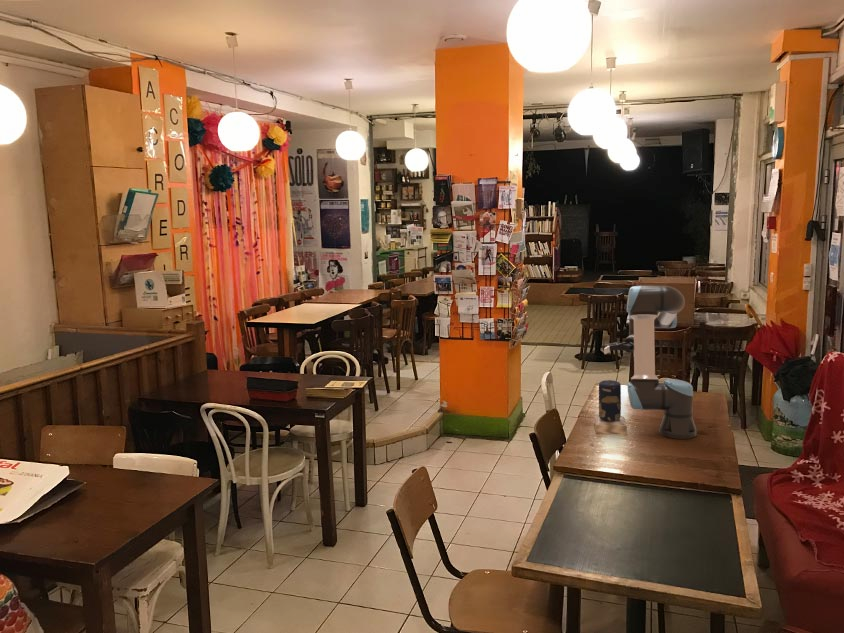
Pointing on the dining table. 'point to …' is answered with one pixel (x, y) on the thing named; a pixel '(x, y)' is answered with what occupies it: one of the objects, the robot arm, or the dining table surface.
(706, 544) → the dining table surface
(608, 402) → the canister
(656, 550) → the dining table surface
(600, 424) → the stand
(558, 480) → the dining table surface
